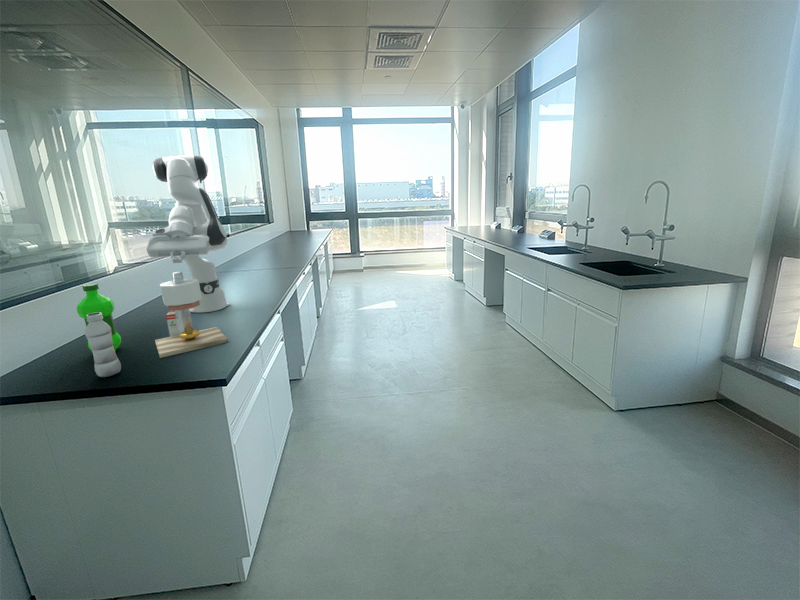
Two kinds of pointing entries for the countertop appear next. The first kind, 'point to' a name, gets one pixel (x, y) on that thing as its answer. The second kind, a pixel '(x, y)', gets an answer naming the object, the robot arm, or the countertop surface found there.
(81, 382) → the countertop surface
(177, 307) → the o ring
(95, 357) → the plastic bottle
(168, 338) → the oak base board
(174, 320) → the ink box
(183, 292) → the sleeve
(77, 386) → the countertop surface
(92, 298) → the plastic bottle
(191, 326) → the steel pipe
